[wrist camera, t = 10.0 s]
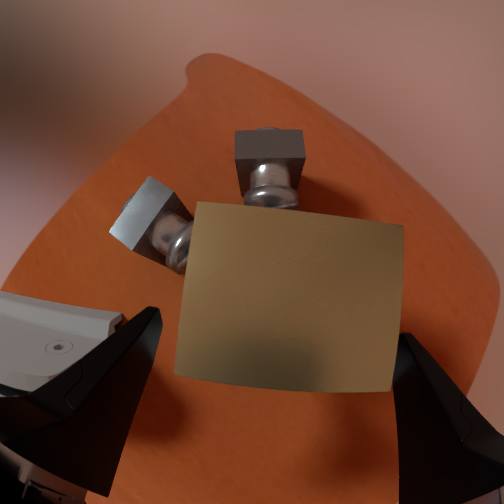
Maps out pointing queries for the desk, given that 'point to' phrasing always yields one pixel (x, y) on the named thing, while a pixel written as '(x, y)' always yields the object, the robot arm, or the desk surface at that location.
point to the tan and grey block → (290, 300)
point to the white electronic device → (45, 339)
